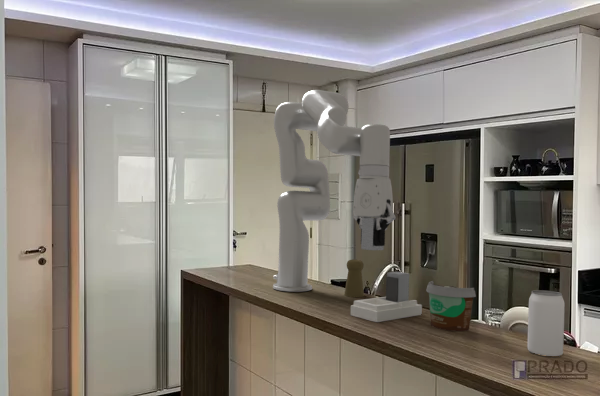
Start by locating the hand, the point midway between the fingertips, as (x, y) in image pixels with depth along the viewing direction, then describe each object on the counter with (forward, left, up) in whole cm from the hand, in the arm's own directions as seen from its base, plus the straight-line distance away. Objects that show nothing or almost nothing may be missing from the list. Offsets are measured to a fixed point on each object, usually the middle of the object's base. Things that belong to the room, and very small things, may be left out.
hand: (372, 244), depth 135 cm
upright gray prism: (0, 0, -1) cm, 1 cm away
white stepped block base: (+2, +4, -18) cm, 19 cm away
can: (+42, +6, -18) cm, 46 cm away
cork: (-23, +17, -18) cm, 34 cm away
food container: (+18, +6, -18) cm, 26 cm away
